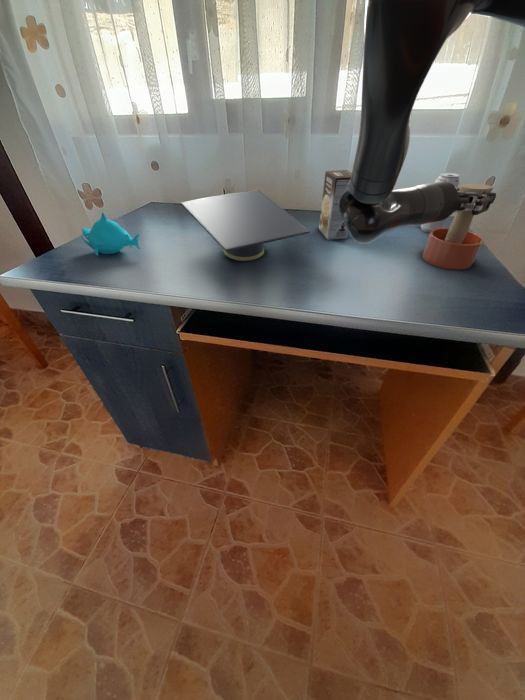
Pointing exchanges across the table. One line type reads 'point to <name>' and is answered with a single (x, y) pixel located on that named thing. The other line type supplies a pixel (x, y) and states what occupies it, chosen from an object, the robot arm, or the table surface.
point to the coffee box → (333, 204)
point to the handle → (464, 215)
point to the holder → (451, 250)
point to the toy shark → (107, 237)
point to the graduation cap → (243, 222)
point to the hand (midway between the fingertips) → (480, 195)
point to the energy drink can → (443, 177)
